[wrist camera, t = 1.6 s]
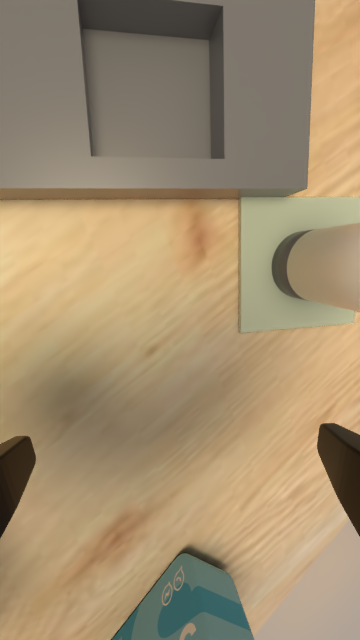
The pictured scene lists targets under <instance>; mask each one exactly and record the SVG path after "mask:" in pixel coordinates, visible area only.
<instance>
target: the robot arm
mask: <svg viewBox="0 0 360 640" xmlns="http://www.w3.org/2000/svg"><path fill="white" fill-rule="evenodd" d="M317 449H318V453H319V456H320V458H321V460H322V463H323V465H324V467H325V470H326V472H327V474H328V477H329V479H330V481H331V484H332V486H333V488H334V490H335V493H336V495H337V497H338V499H339V501H340V503H341V504H342V506H343V508H344V510H345V512H346V513H347V515H348V517H349V519H350V520H351V522H352V524H353V526H354V527H355V529H356V531H357V533H358V534H359V536H360V435H359V434H357V433H354V432H352V431H350V430H348V429H346V428H344V427H342V426H339V425H337V424H335V423H323V424H321V425H320V428H319V435H318V442H317ZM35 462H36V456H35V452H34V449H33V445H32V442H31V439H30V437H28V436H16V437H14V438H12V439H10V440H8V441H6V442H4V443H2V444H0V538H1V536H2V534H3V533H4V531H5V529H6V527H7V525H8V523H9V521H10V520H11V518H12V516H13V514H14V512H15V510H16V508H17V506H18V504H19V501H20V499H21V497H22V494H23V492H24V490H25V487H26V485H27V482H28V480H29V478H30V475H31V473H32V470H33V468H34V465H35Z"/></svg>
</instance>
